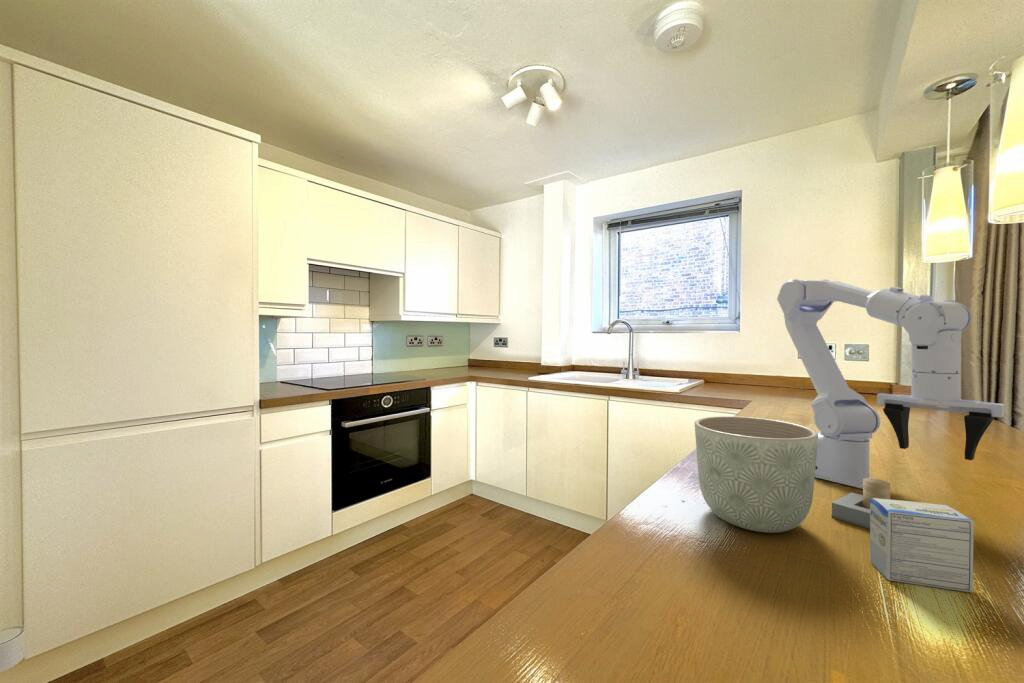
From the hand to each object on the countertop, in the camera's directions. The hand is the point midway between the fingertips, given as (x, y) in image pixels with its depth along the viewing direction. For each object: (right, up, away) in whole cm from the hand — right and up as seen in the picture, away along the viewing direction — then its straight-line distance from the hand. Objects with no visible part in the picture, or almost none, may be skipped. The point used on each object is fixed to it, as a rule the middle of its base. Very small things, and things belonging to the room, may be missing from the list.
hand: (935, 453), depth 67 cm
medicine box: (-22, -10, -18) cm, 30 cm away
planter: (-33, -10, -3) cm, 34 cm away
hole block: (-13, -10, -4) cm, 17 cm away
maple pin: (-13, -10, -4) cm, 17 cm away
